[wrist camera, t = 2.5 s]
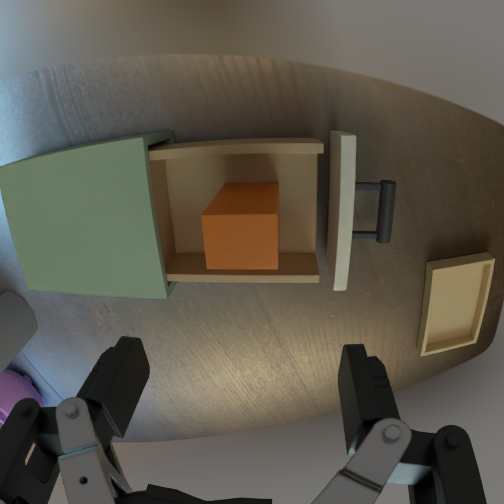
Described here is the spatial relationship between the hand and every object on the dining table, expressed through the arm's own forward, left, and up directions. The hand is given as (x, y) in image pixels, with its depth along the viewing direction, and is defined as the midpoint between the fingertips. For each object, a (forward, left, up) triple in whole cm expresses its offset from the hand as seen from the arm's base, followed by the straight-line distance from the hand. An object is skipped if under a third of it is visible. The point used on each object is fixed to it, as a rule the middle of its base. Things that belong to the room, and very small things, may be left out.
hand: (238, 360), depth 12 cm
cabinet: (+6, -17, -22) cm, 29 cm away
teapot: (+55, -37, -22) cm, 70 cm away
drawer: (-1, +1, -21) cm, 21 cm away
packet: (0, -1, -20) cm, 20 cm away
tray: (+4, +27, -22) cm, 35 cm away
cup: (+31, -34, -22) cm, 51 cm away
